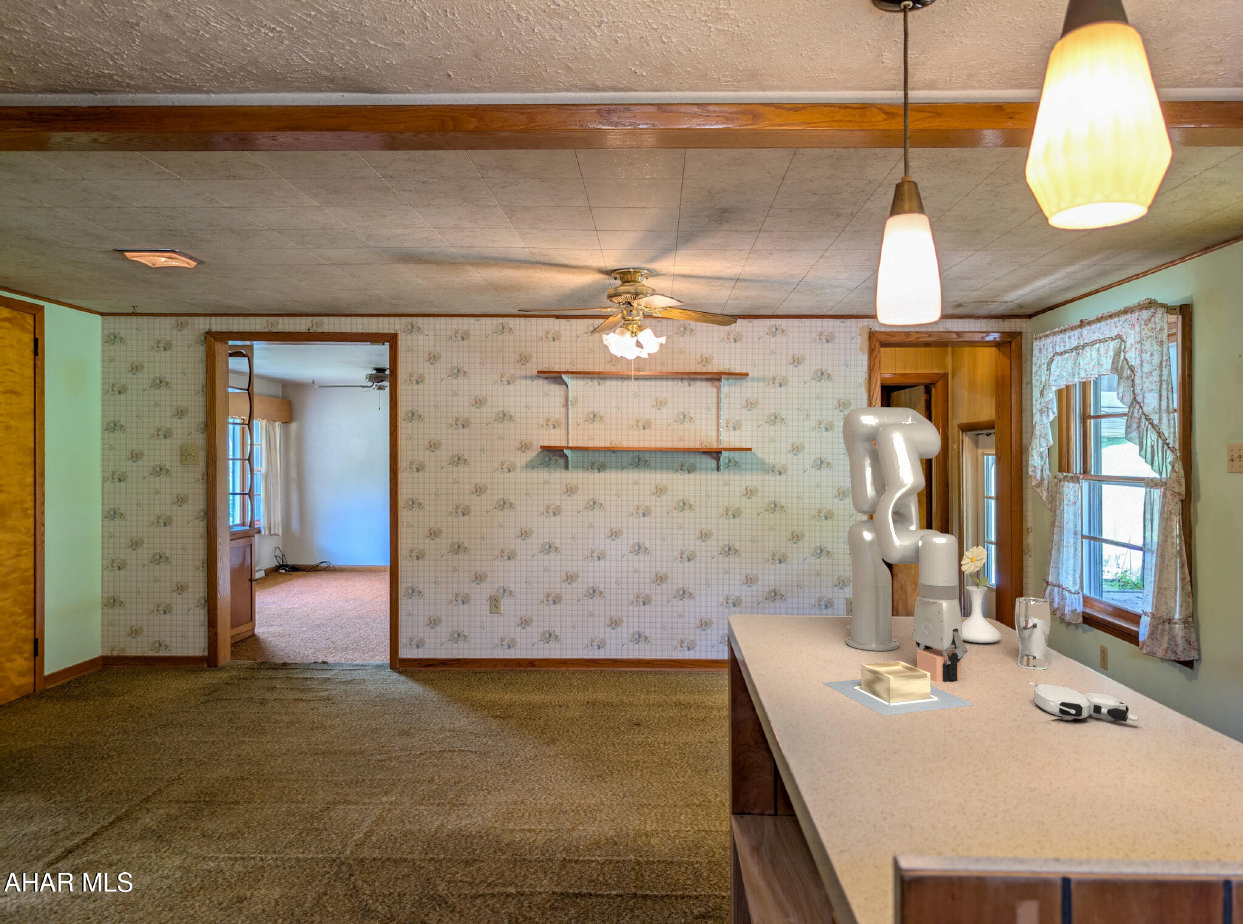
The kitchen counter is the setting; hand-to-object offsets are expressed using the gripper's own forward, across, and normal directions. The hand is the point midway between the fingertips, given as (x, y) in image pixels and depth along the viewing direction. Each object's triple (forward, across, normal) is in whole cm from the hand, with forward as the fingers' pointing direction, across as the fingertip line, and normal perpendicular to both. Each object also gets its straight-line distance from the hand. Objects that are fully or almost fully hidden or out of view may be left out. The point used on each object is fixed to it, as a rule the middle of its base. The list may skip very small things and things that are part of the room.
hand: (938, 676), depth 153 cm
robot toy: (+1, +25, +10) cm, 27 cm away
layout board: (+1, +7, -16) cm, 17 cm away
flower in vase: (+1, -25, +33) cm, 41 cm away
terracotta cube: (+1, 0, 0) cm, 1 cm away
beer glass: (+1, -3, +28) cm, 28 cm away
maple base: (0, +7, -16) cm, 17 cm away
